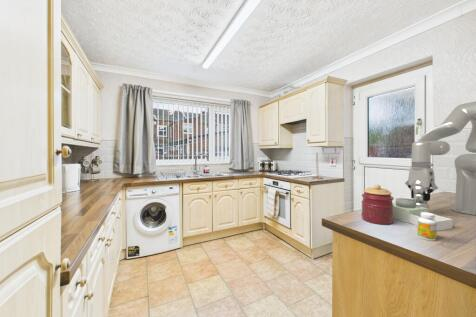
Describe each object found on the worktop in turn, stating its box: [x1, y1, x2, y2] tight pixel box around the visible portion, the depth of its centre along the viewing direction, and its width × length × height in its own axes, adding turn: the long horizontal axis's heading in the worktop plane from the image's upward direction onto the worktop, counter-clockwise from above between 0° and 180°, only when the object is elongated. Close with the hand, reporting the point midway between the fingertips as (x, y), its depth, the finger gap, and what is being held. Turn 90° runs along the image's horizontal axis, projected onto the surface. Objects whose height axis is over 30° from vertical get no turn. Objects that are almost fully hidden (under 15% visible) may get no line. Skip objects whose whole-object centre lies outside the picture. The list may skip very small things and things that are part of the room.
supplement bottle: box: [417, 212, 437, 242], centre depth 81 cm, size 5×5×10 cm
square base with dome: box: [392, 197, 454, 232], centre depth 100 cm, size 12×22×9 cm, turn 15°
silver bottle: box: [412, 180, 429, 209], centre depth 109 cm, size 6×7×20 cm
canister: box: [360, 184, 394, 226], centre depth 101 cm, size 13×13×18 cm
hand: (420, 199), depth 110 cm, fingers closed on silver bottle, 5 cm apart
